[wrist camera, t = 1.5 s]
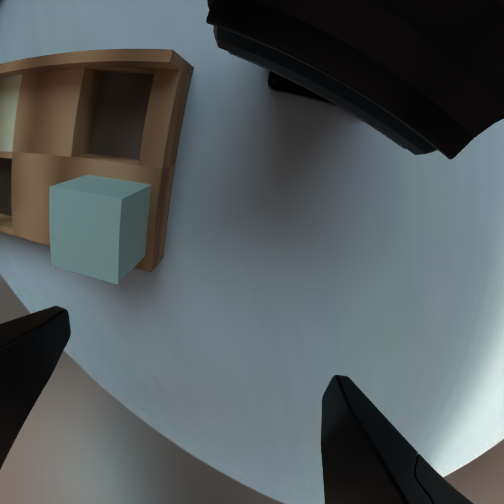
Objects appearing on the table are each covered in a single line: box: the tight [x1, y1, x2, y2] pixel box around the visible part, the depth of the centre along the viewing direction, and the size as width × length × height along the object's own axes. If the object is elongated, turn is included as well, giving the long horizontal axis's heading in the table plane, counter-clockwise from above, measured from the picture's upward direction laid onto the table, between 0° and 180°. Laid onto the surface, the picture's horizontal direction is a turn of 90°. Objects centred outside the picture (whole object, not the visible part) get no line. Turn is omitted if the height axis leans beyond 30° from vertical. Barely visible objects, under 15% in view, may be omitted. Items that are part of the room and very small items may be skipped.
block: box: [49, 175, 152, 285], centre depth 16 cm, size 4×4×4 cm
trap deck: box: [0, 49, 194, 272], centre depth 17 cm, size 18×13×4 cm
